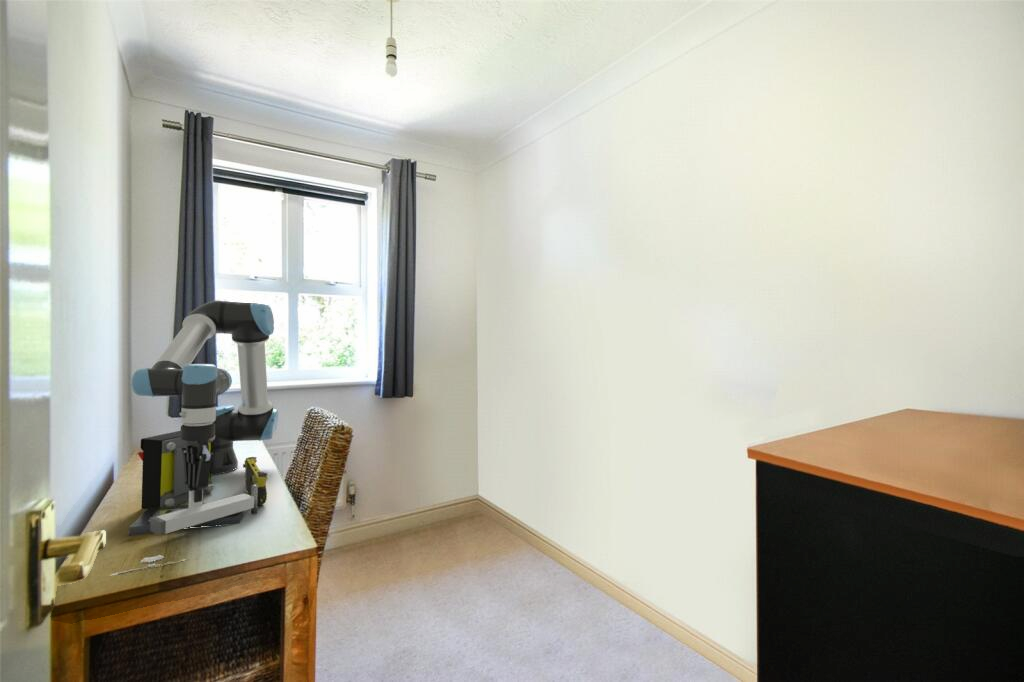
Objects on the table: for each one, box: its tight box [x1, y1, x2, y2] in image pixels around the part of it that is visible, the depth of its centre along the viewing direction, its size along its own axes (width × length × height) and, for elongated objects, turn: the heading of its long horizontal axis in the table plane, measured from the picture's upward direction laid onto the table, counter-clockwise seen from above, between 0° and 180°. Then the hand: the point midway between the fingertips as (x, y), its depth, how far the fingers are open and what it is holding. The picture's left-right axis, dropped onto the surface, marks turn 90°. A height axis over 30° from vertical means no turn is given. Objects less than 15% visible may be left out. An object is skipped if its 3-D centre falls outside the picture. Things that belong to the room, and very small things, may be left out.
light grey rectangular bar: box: [150, 493, 254, 537], centre depth 122 cm, size 22×5×3 cm, turn 149°
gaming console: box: [242, 456, 269, 508], centre depth 147 cm, size 26×4×10 cm, turn 36°
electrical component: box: [137, 430, 215, 510], centre depth 142 cm, size 18×10×20 cm, turn 168°
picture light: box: [108, 554, 186, 577], centre depth 102 cm, size 14×4×2 cm, turn 125°
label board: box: [128, 484, 258, 536], centre depth 128 cm, size 14×27×8 cm, turn 112°
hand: (195, 513), depth 122 cm, fingers closed
